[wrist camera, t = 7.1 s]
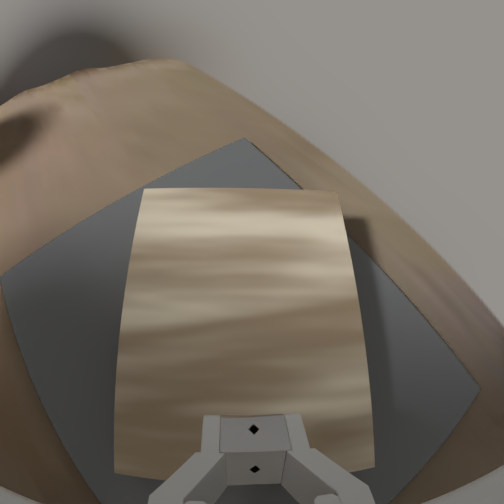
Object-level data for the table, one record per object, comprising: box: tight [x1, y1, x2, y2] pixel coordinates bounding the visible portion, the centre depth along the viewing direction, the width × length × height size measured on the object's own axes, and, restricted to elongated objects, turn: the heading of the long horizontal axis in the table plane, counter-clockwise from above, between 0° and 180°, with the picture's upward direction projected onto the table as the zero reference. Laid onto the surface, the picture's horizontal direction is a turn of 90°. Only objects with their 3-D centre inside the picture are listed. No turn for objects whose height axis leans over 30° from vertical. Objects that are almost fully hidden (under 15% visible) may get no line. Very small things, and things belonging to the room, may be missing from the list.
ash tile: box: [114, 188, 375, 480], centre depth 16 cm, size 2×12×16 cm
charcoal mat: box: [0, 138, 481, 504], centre depth 17 cm, size 22×26×1 cm
